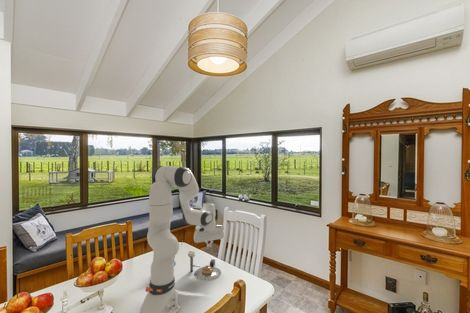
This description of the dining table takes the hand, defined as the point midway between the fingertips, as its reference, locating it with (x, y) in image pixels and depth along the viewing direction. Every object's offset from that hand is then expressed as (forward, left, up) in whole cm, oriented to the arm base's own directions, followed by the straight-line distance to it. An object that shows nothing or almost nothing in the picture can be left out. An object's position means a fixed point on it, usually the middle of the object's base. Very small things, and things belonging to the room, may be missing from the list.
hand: (209, 246), depth 154 cm
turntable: (-7, -2, -14) cm, 16 cm away
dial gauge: (-9, +7, -15) cm, 18 cm away
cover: (-8, -1, -13) cm, 15 cm away
